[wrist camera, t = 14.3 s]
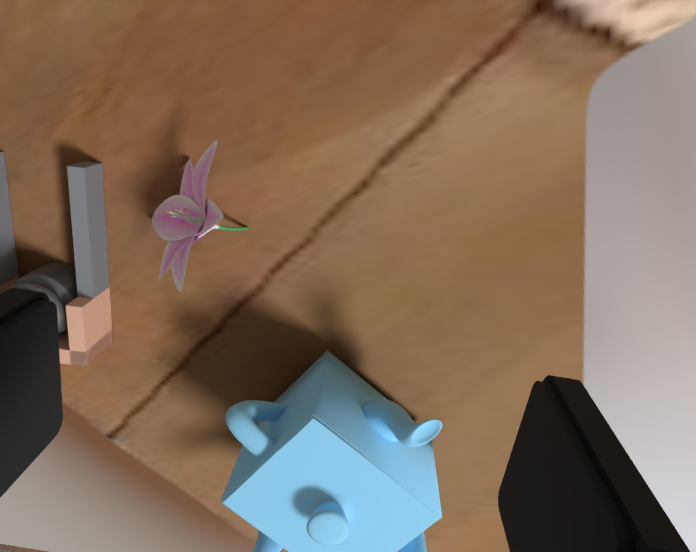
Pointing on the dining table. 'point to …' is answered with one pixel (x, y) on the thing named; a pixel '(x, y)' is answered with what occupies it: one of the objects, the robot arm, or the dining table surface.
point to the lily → (187, 217)
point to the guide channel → (90, 263)
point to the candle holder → (53, 286)
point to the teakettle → (333, 467)
